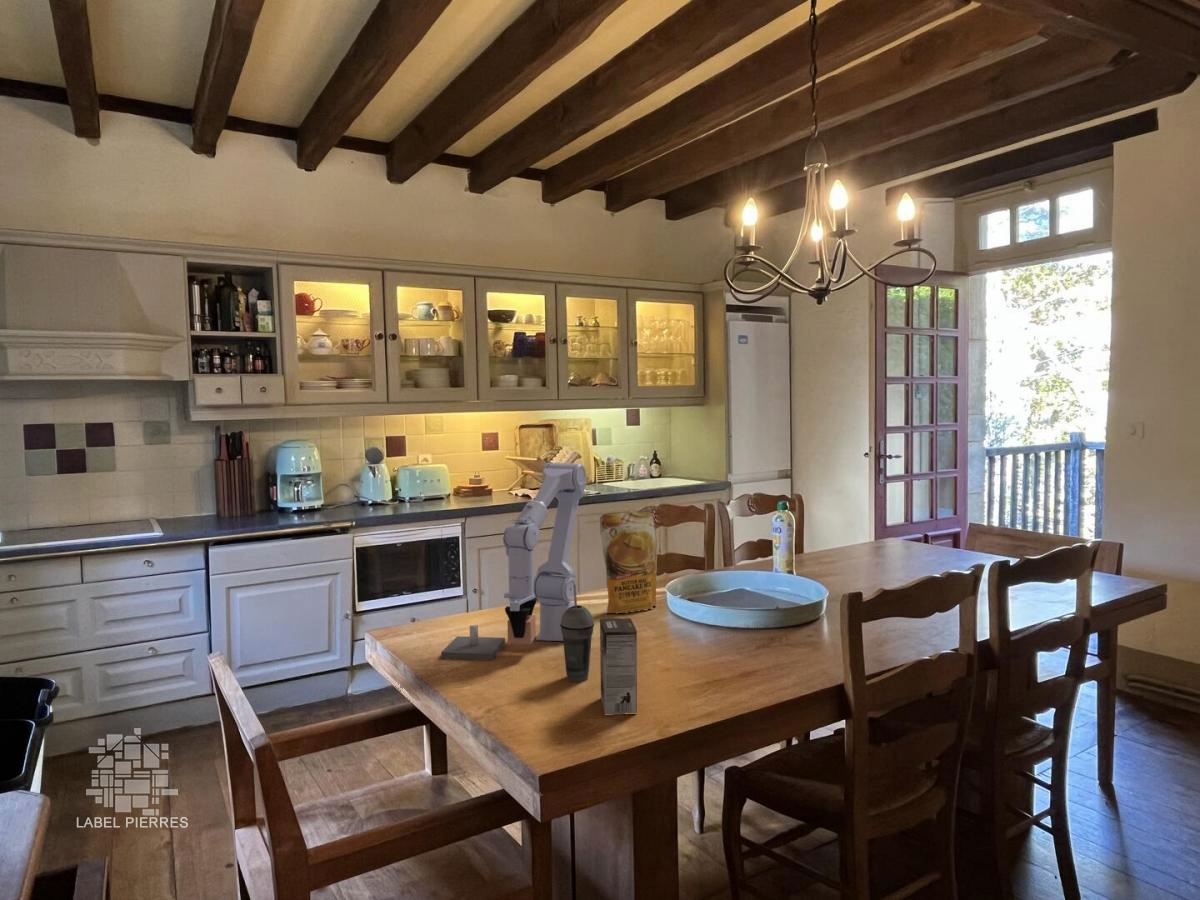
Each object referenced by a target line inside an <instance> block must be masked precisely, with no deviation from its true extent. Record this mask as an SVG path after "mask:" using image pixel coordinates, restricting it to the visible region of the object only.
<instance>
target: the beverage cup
mask: <svg viewBox="0 0 1200 900" xmlns="http://www.w3.org/2000/svg"><path fill="white" fill-rule="evenodd" d="M573 586H574V597H573V599H574V600H573V602H574V604H575V606H572V607H570V608H568V609H567V610H566V611H565V612H564V614H563V616H562V619H561V624H560V627H561V631H562V635H563V641H562V642H563V652H564V654H563V655H564V661H565V662H564V664H565V672H566V680H568V681H569V680H570V682H575V683H581V682H580V681H582V682H586V681H587V680H589V672H590V663H591V651H592V650H591V648H592V636H593V634H594V627H595V623H594V618H593V615H592V613H591V611H589V609H588V608H586V607H585V606H582V605H578V602H577V601H578V600H577V585H576V583H575V584H574V585H573Z"/></svg>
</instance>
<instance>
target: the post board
mask: <svg viewBox="0 0 1200 900" xmlns="http://www.w3.org/2000/svg"><path fill="white" fill-rule="evenodd" d="M504 644H506V638H505V637H493V636H492V637H490V636H489V637H487V636H479V625H478V624H470V625H469V636H459V635H457V636H455V638H454V639H453V640H452V641H451V642H450V643H449V644H448V645H446V647H444V649H443V650H442V651H441V658H450V659H451V660H469V659H479V660H478V661H493V660H494V659H495V658H496V656H497V655H498V654H499V652H500V651H501V650H500V649H502V648H503V647H504V646H505V645H504ZM497 653H498V654H497ZM494 657H495V658H494ZM455 658H456V659H455ZM450 659H449V660H450Z"/></svg>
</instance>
